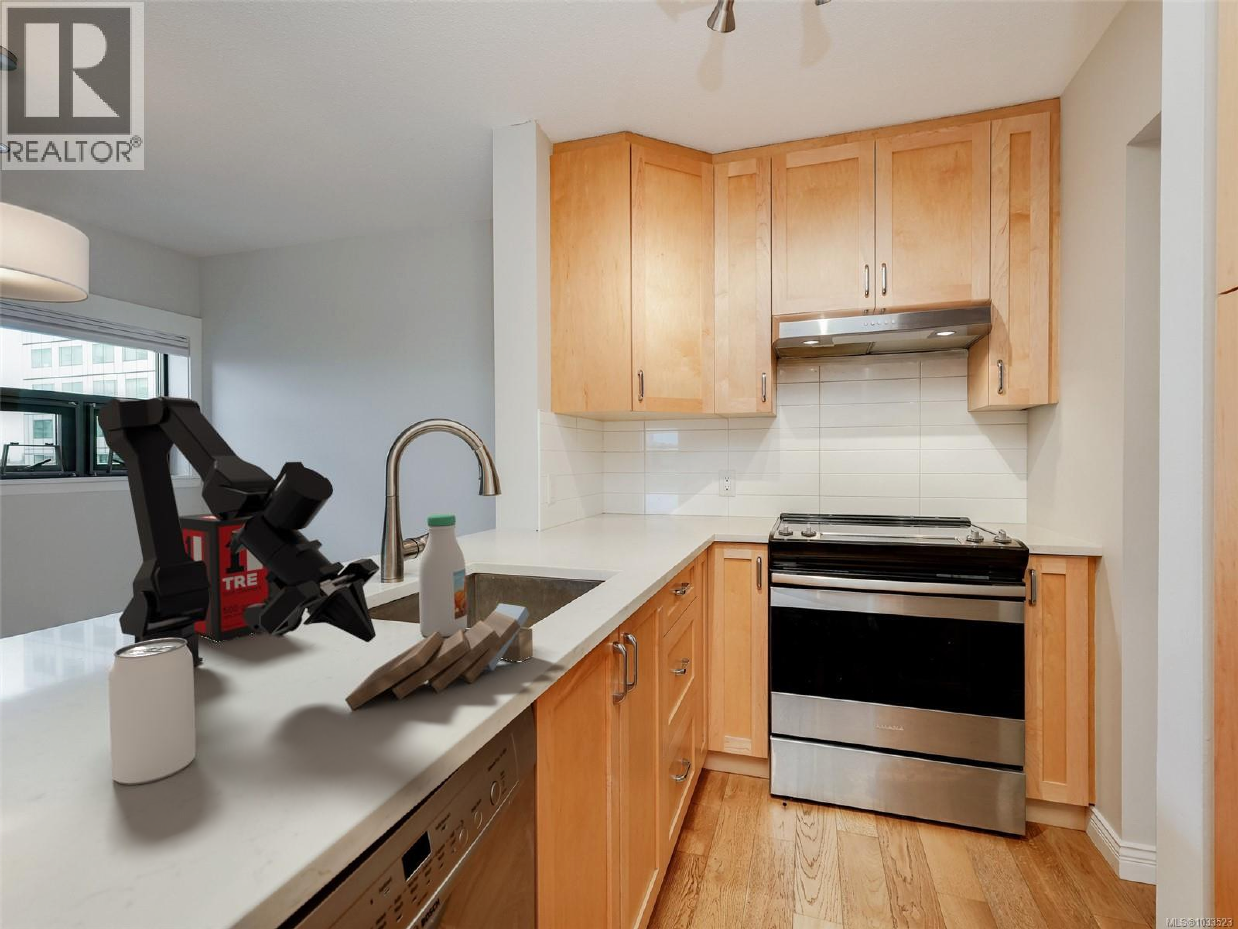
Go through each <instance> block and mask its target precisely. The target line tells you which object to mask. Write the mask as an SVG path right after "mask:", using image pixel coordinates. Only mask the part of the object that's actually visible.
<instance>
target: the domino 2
mask: <svg viewBox="0 0 1238 929" xmlns="http://www.w3.org/2000/svg"><path fill="white" fill-rule="evenodd" d="M468 651H470V649H469V643H468V639H467V637H466V636H465V633H464V632H463V631H462V630H459V631H458V632H457V633H455V634H454V635H452V636H448V638H447V639H444V641H443V643H442V644H441V645H440V646H439V647H438V649H437V650H436V651H435V652H434V653H433V655H432V656H431V657H430V658H429V660H428V661H427V662H426V663H425V664H424V666H422V667H420V668H419V669H417V670H416V671H414V672H412V673H411V674H409V675H408V676H406V677H405V678H403V679H401V680H400V681H398V682H397V683H395V684H393V685H392V691H393V693H394V694H395V696H396V697H397V698H398V700H402V699H403V698H404V697H406V696H407V695H409V694H411V693H412V692H414V690H416V689H418V687H420V686H421V685H423V684H425V683H426V682H428V680H429V679H430V678H432V677H433V676H434V675H436V674H437V673H439V672H440V671H441V670H443V669H444V668H446V667H447V666H449V665H450V664H451V663H453V662H454V661H456V660H457V659H458V658H460V657H461V656H463V655H464V654H466V653H467V652H468Z"/></svg>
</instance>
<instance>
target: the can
mask: <svg viewBox="0 0 1238 929" xmlns="http://www.w3.org/2000/svg"><path fill="white" fill-rule="evenodd" d="M186 644H187V640H185V639H182V638H164V639H155V640H149V641H144V642H139V643H135V642H134V643H132V644H129V645H126V646H123V647H121V648H117V650H116V651H114V653H113V656H114V659H113V662H112V663H111V665H110V667H109V670H108V694H109V695H108V700H109V701H108V702H109V703H108V704H109V731H110V733H109V734H110V737H109V738H110V761H111V777H112V779H113V780H114V781H116V782H117V783H118V784H120V785H124V786H138V785H144V784H150V783H154V782H157V781H160V780H163V779H166V778H169V777H172V776H174V775H176V774H178V773H180V772H181V771H183V770H185V769H186V768H187V767H189V765H190V764H191V763H192V761H193V760H194V759H195V757H196V717H195V716H196V713H195V711H196V710H195V709H196V708H195V680H194V677H195V676H194V666H193V657H192V654H191V652H190V650H189V649H188V648H187V646H186Z"/></svg>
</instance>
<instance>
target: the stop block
mask: <svg viewBox="0 0 1238 929" xmlns="http://www.w3.org/2000/svg"><path fill="white" fill-rule="evenodd" d="M533 648H534V647H533V628H530V627H524V626H522V627H521V628H520V630H519V631H518V633H517V635H516V636H515V638H514V639H513V641H512V642H511V644H510V645H509V647H508V648H507V650H506V651H505V653H504V654H503V656H502V658H503V659H507V660H506V661H508V660H512V661H511V662H513V661H523V660H525V659H526V658H528V657H531V656H533V655H534V654H533V653H534V650H533ZM533 657H534V656H533ZM531 658H532V657H531ZM503 659H502V660H503ZM525 661H526V660H525ZM523 662H524V661H523Z"/></svg>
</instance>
